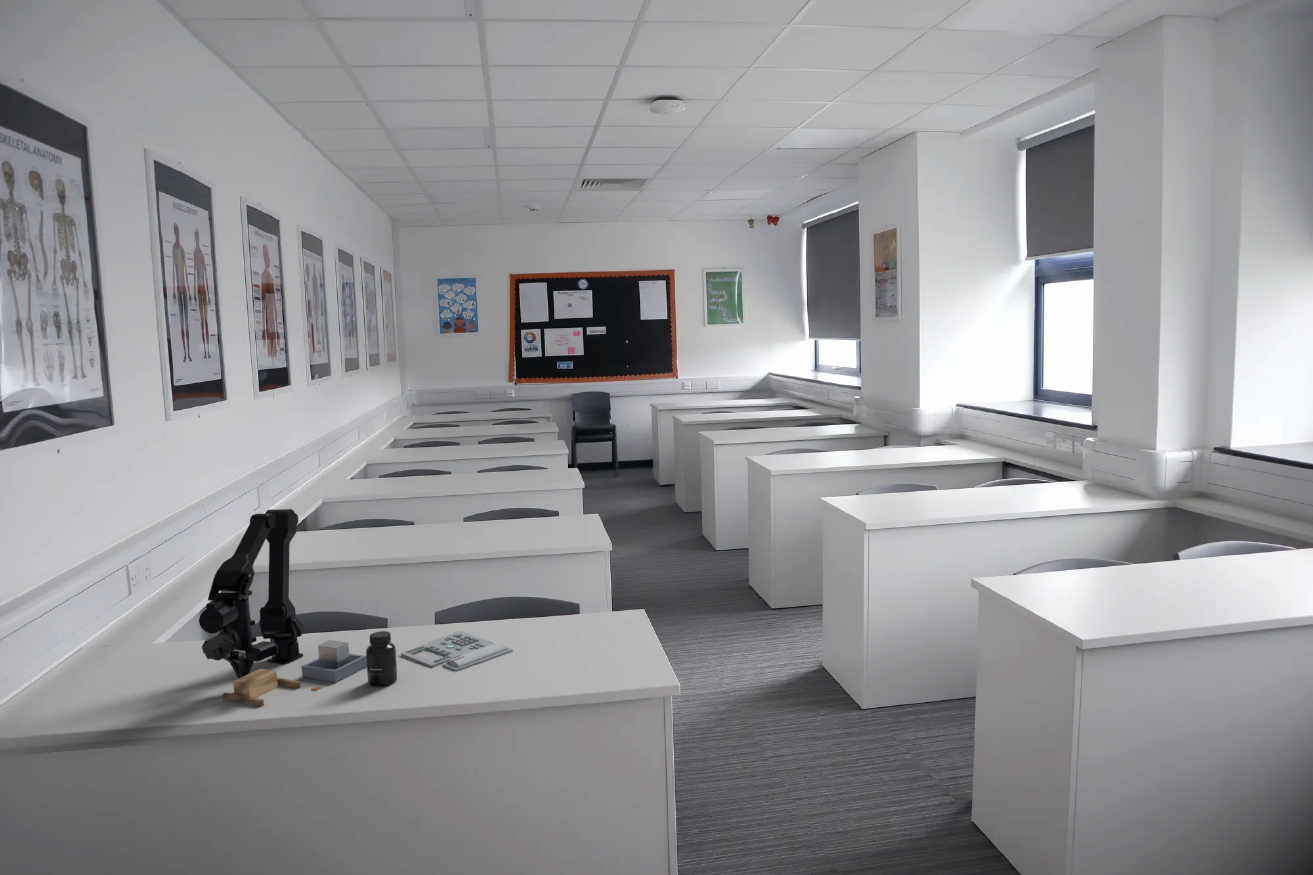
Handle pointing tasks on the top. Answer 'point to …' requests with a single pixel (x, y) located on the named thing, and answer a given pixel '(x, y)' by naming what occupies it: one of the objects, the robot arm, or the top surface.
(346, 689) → the top surface
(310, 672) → the tray
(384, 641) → the supplement bottle
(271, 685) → the block
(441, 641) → the office telephone
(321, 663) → the block
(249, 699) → the bar
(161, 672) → the top surface
